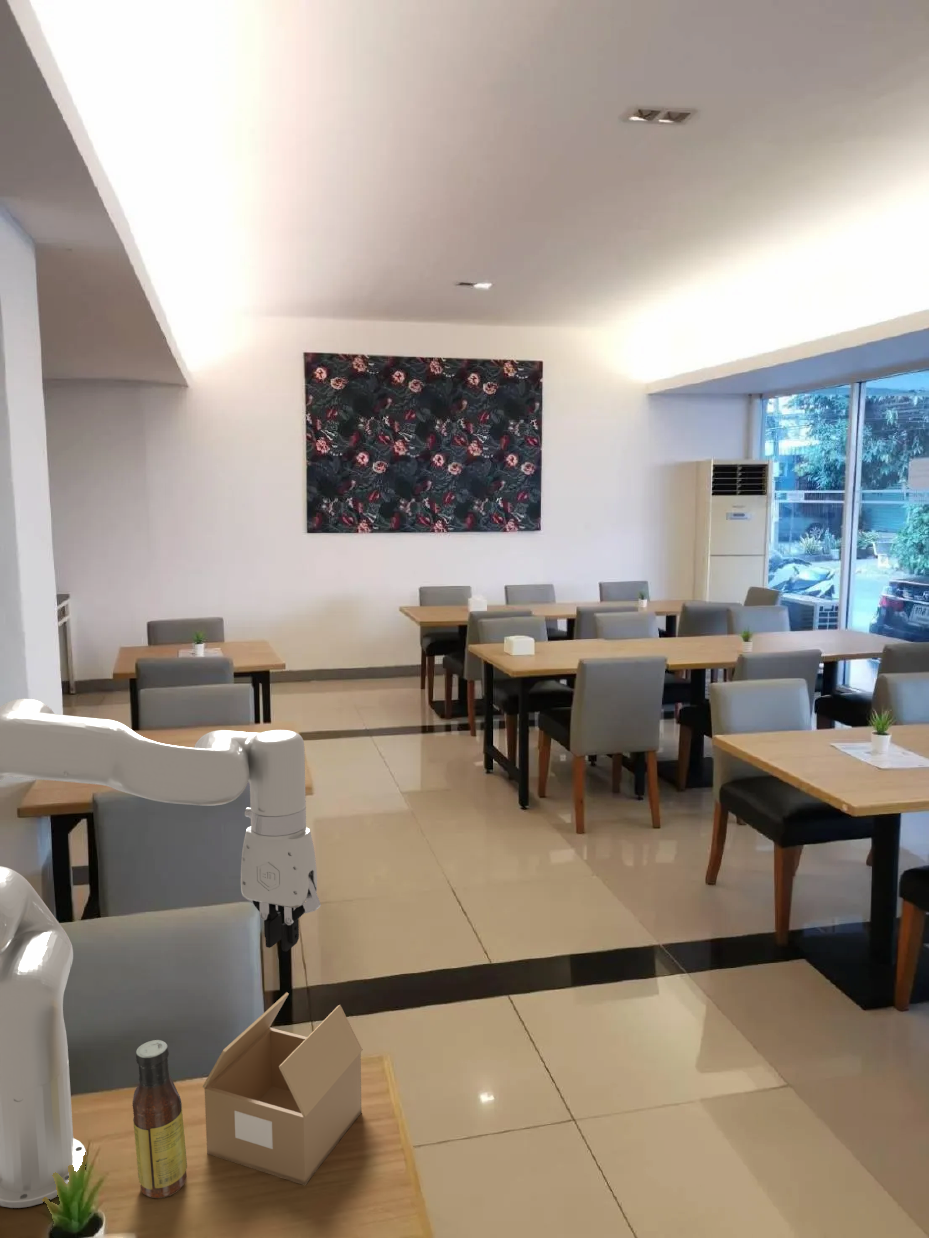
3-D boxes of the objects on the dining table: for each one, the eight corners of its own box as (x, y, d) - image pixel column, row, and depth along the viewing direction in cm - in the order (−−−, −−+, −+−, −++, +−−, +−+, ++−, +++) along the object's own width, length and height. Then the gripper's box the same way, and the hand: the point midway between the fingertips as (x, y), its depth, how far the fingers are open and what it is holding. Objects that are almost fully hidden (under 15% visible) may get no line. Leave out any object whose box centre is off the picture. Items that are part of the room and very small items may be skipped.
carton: (206, 1154, 130) (204, 1088, 129) (271, 1086, 145) (269, 1027, 144) (304, 1185, 125) (303, 1117, 123) (361, 1112, 139) (360, 1050, 138)
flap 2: (360, 1050, 138) (362, 1049, 138) (303, 1117, 123) (305, 1116, 123) (338, 1005, 138) (340, 1004, 138) (278, 1066, 124) (280, 1065, 124)
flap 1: (204, 1088, 129) (202, 1086, 129) (269, 1027, 144) (267, 1025, 144) (225, 1051, 127) (222, 1050, 127) (288, 993, 142) (286, 992, 142)
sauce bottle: (194, 1168, 128) (189, 1035, 125) (176, 1203, 121) (169, 1063, 119) (149, 1165, 128) (142, 1032, 126) (128, 1199, 122) (121, 1060, 119)
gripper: (214, 821, 128) (219, 946, 130) (314, 837, 122) (316, 968, 125) (246, 804, 135) (250, 923, 137) (342, 819, 129) (344, 943, 131)
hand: (281, 944), depth 131 cm, fingers closed
